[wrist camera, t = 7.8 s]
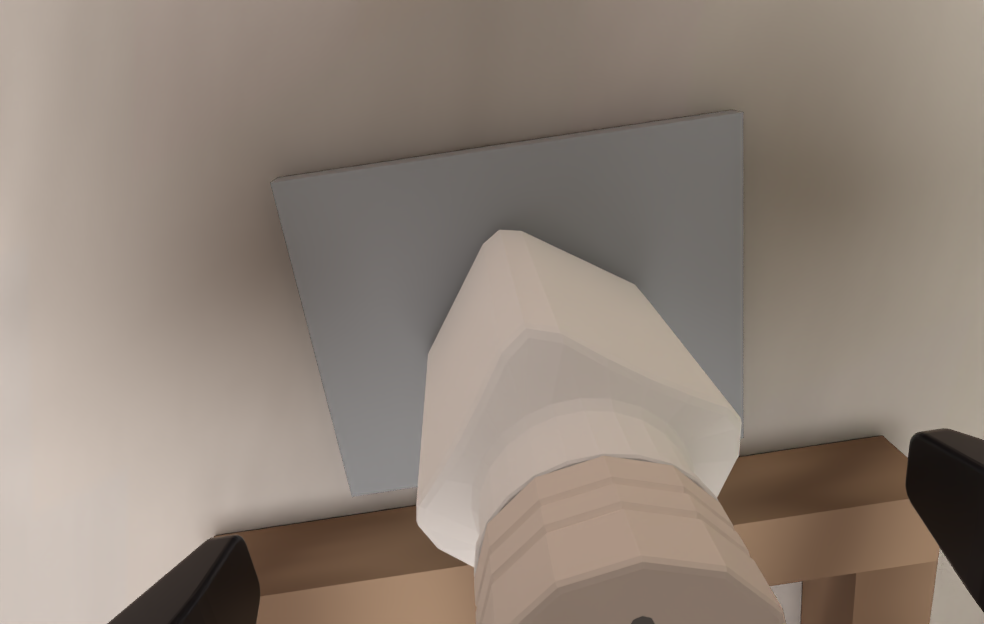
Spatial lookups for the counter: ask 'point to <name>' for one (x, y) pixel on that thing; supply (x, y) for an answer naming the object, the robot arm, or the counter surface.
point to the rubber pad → (479, 215)
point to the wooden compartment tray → (744, 497)
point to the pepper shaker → (579, 452)
